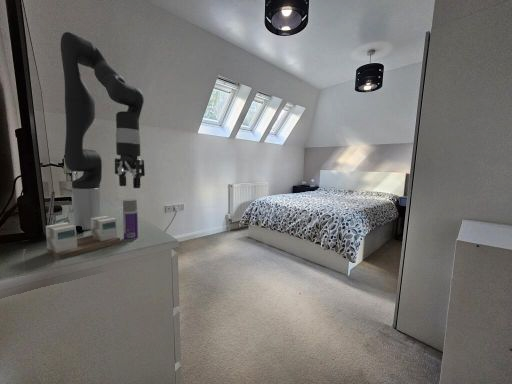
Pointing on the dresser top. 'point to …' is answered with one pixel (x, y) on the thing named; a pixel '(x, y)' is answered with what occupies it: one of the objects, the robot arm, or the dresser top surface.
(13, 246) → the dresser top surface
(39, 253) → the dresser top surface
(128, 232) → the container
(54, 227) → the board
